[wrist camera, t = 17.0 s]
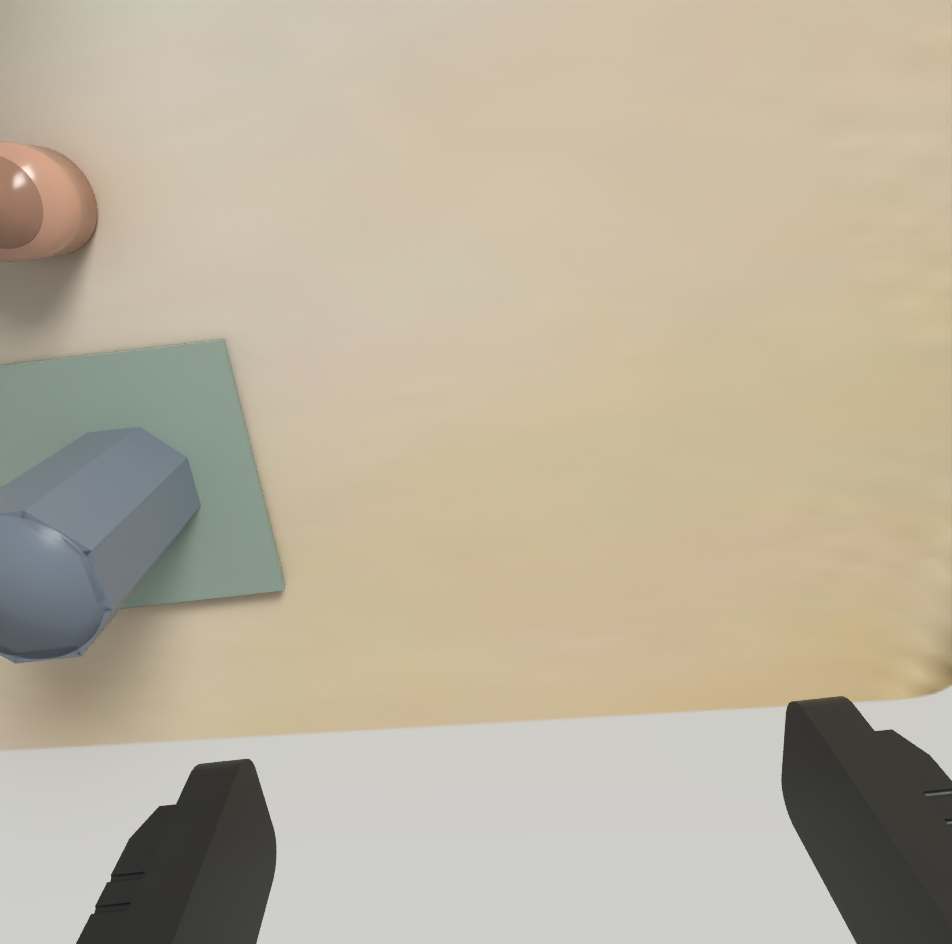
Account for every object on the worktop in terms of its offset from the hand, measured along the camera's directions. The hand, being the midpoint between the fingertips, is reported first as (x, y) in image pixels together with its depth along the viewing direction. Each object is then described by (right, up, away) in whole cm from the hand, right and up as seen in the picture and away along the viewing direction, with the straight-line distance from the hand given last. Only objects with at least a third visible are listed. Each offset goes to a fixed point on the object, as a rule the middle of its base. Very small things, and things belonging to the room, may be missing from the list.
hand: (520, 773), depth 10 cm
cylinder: (-20, +17, +21) cm, 34 cm away
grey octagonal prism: (-19, +4, +25) cm, 32 cm away
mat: (-19, +4, +26) cm, 32 cm away
